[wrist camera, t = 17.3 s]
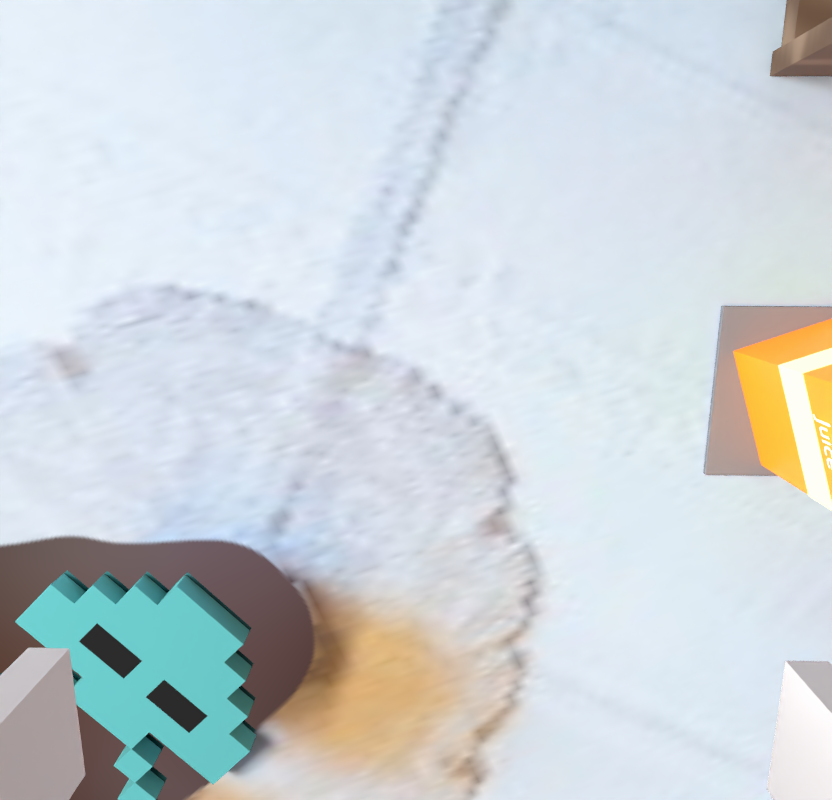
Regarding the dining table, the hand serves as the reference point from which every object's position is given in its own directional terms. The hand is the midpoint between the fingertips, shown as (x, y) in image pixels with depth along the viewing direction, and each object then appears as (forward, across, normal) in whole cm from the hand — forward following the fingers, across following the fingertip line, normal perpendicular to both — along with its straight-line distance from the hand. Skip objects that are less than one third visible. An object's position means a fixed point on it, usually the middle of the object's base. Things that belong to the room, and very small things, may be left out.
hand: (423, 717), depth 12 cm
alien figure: (+35, -23, -25) cm, 49 cm away
